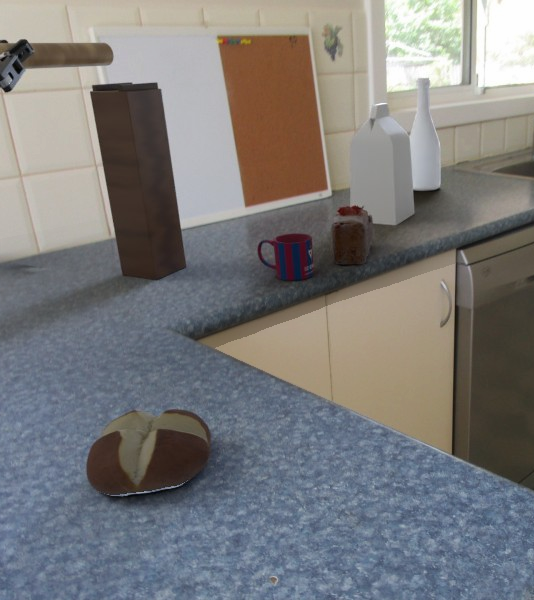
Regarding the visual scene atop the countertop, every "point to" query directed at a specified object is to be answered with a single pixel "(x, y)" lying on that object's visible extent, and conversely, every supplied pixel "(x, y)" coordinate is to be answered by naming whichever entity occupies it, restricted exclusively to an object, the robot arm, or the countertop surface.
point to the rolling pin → (65, 55)
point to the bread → (148, 452)
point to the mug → (291, 256)
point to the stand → (139, 178)
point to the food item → (351, 235)
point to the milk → (382, 169)
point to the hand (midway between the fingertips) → (18, 45)
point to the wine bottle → (424, 143)
